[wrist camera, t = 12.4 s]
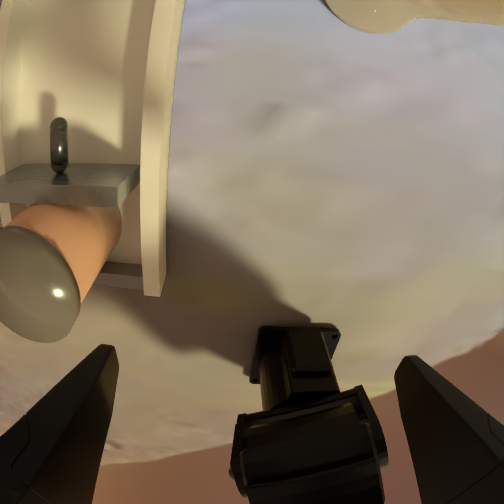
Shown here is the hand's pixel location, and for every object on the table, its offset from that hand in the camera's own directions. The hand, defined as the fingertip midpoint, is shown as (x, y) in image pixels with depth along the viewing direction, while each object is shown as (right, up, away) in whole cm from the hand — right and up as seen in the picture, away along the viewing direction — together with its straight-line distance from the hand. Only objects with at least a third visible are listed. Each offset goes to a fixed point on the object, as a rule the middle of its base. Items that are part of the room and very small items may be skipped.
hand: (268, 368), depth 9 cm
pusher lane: (-10, +11, +7) cm, 17 cm away
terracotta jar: (-11, +5, +9) cm, 15 cm away
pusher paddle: (-11, +9, +7) cm, 16 cm away
